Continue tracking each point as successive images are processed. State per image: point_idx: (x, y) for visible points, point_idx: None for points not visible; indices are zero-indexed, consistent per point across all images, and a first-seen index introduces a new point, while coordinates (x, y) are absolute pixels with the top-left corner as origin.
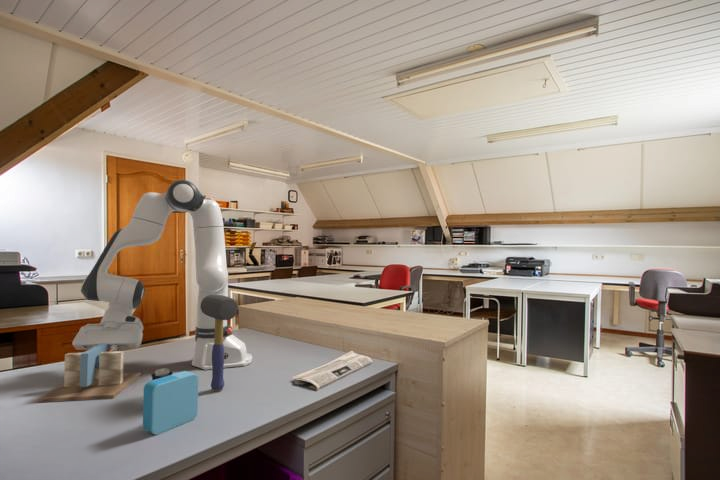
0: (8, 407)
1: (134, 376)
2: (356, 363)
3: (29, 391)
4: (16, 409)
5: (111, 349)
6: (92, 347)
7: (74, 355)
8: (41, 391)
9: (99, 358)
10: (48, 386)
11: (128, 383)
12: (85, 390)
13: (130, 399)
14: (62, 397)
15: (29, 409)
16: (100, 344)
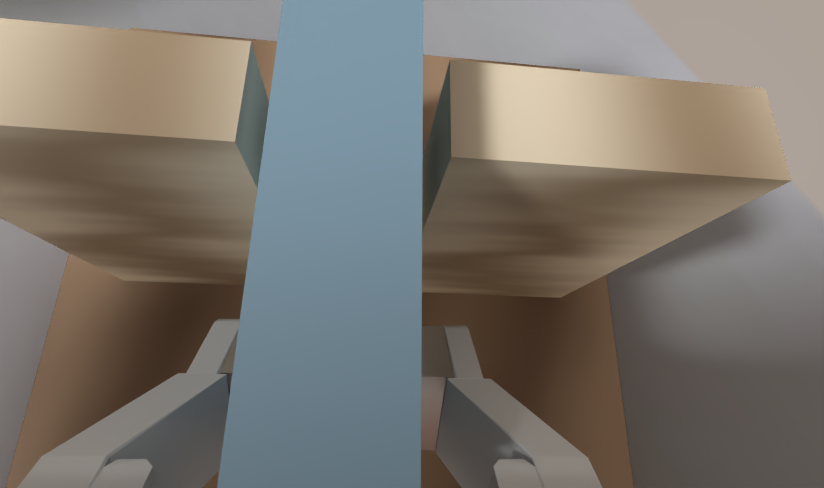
0: (667, 54)
1: (37, 434)
2: None
3: (760, 278)
4: (607, 21)
5: (139, 424)
6: (595, 485)
7: (625, 87)
8: (681, 263)
9: (263, 95)
10: (712, 363)
11: (74, 256)
12: None
13: (26, 6)
14: (444, 57)
15: (542, 7)
16: (382, 397)
